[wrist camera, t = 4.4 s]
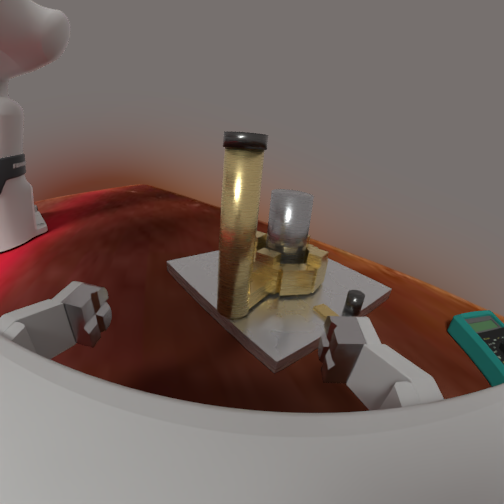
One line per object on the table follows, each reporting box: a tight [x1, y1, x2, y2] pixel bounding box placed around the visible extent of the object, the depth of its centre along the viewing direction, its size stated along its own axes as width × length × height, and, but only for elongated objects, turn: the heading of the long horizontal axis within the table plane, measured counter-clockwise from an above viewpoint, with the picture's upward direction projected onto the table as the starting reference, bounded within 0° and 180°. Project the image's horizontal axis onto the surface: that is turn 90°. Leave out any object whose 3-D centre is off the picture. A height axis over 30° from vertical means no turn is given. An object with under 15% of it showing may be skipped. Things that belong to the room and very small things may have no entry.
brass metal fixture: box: [217, 132, 328, 318], centre depth 24 cm, size 14×8×14 cm, turn 146°
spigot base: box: [167, 189, 391, 374], centre depth 27 cm, size 20×18×10 cm
